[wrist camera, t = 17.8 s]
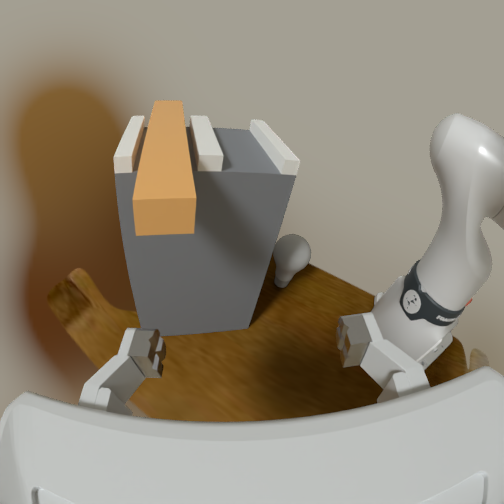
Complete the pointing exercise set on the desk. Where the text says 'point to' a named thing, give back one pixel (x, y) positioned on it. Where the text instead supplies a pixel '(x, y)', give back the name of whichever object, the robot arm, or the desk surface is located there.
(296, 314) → the desk surface
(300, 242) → the lightbulb
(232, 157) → the block
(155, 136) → the orange flat bar
